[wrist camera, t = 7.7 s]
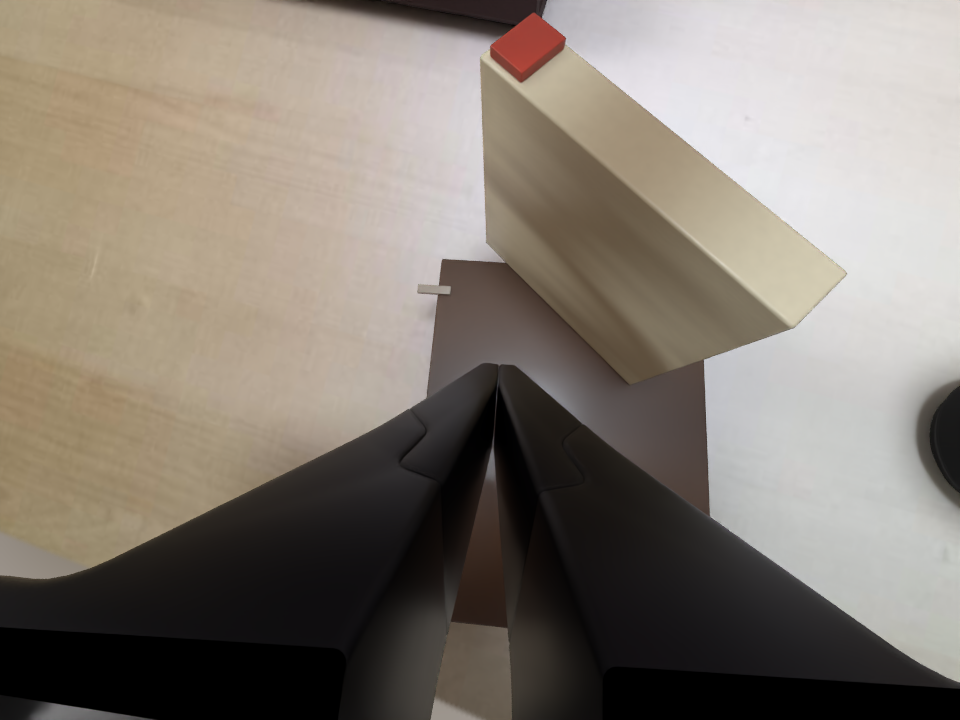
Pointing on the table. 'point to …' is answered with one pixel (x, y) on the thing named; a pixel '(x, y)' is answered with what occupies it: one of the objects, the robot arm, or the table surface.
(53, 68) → the table surface
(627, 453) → the brown flat piece
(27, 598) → the robot arm
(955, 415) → the beverage can
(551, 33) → the red-cornered cream slab
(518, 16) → the book
